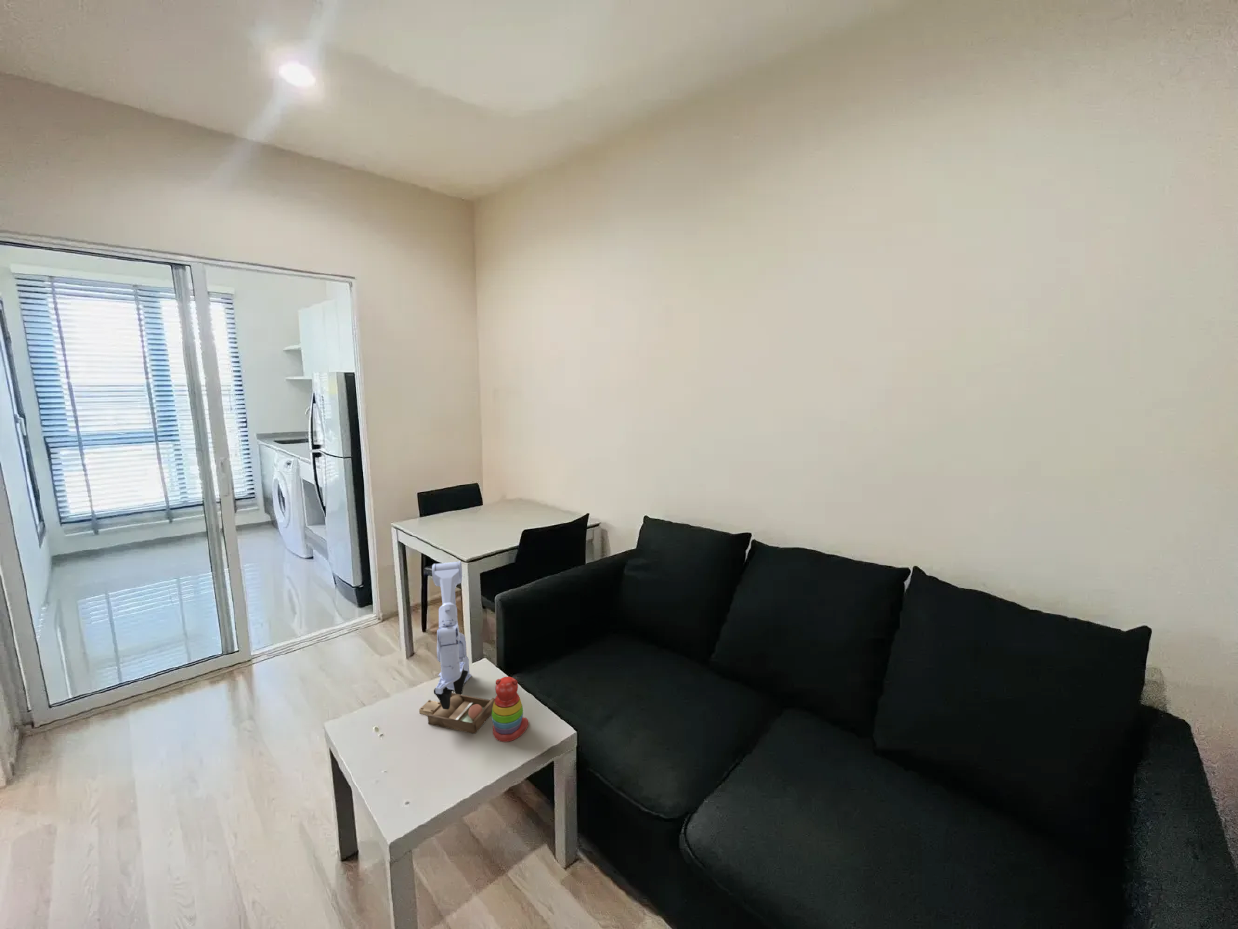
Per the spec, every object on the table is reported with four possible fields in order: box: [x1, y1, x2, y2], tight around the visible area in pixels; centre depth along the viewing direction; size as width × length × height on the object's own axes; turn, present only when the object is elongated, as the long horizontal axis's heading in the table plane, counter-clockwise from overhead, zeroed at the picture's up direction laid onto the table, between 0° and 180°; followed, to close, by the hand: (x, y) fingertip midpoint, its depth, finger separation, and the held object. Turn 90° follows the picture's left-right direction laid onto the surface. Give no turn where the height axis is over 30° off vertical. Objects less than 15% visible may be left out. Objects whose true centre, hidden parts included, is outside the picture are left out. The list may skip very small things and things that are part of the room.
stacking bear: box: [491, 676, 530, 743], centre depth 151 cm, size 11×10×18 cm
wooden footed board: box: [419, 699, 442, 716], centre depth 162 cm, size 5×5×2 cm
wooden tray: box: [427, 692, 496, 735], centre depth 159 cm, size 12×17×7 cm
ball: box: [468, 704, 483, 719], centre depth 157 cm, size 4×4×4 cm
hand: (452, 700), depth 159 cm, fingers open, 7 cm apart
